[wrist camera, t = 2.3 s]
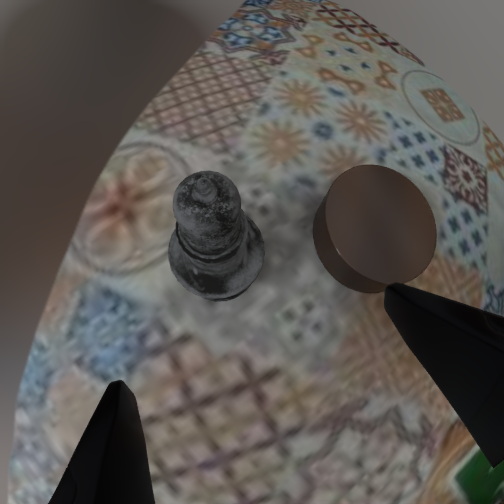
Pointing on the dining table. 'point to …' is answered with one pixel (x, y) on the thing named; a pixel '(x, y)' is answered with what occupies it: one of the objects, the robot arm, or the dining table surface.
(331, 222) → the walnut puck
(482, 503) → the dining table surface
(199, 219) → the grey stone chess piece
